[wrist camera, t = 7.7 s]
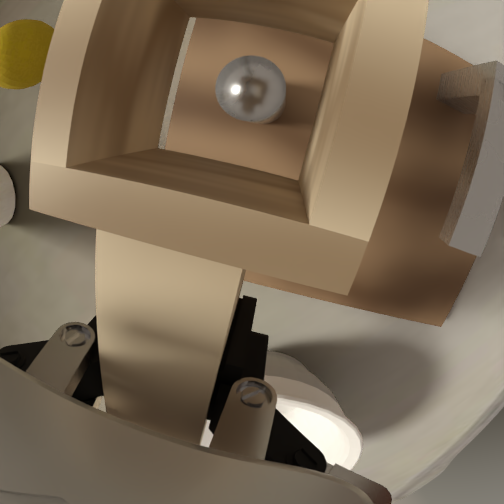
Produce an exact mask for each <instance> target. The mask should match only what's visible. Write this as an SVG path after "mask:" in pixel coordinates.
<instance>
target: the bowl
mask: <svg viewBox="0 0 504 504" xmlns="http://www.w3.org/2000/svg"><path fill="white" fill-rule="evenodd" d="M264 381H266V382H267V383H268V384H270V385H271V386H272V387H273V388H274V390H275V391H276V394H277V404H276V409H277V410H278V411H279V412H280V413H281V414H282V415H283V416H284V417H285V418H286V419H287V420H288V421H289V422H290V423H291V424H292V425H294V426H295V427H296V428H297V429H298V430H299V431H300V432H301V433H302V434H303V435H304V436H305V437H306V438H307V439H308V440H309V441H310V442H312V443H313V444H314V445H315V446H316V447H317V448H318V449H319V450H320V451H321V452H322V453H323V455H324V456H325V459H326V462H328V463H329V464H331V465H334V464H335V463H336V464H338V465H340V466H342V467H344V468H346V469H348V470H351V469H352V468H353V467H354V466H355V465H356V463H357V462H358V461H359V459H360V457H361V454H362V450H363V439H362V435H361V433H360V431H359V430H358V428H357V426H356V425H355V424H354V423H353V422H351V421H350V420H349V419H348V418H347V417H346V416H344V413H343V411H342V409H341V408H340V406H339V404H338V401H337V400H336V398H335V396H334V395H333V393H332V392H331V391H330V390H329V389H328V388H327V387H326V386H325V385H324V384H323V383H322V382H321V381H320V380H319V379H318V378H317V377H316V376H315V375H314V374H312V373H310V372H309V371H308V370H307V368H306V367H305V366H304V365H303V364H302V363H301V362H300V361H298V360H296V359H295V358H293V357H291V356H288V355H286V354H283V353H279V352H274V351H267V357H266V366H265V375H264ZM210 421H211V420H207V423H206V427H205V431H204V434H203V438H202V442H201V446H205V447H209V445H210V443H211V440H212V438H213V434H212V432H211V431H210V430H209V429H208V428H209V424H210Z"/></svg>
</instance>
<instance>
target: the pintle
mask: <svg viewBox="0 0 504 504" xmlns="http://www.w3.org/2000/svg"><path fill="white" fill-rule="evenodd" d="M215 92H216V97H217V100H218V103H219V104H220V106H221V107H222V109H223V110H224V111H225V112H226V113H227V114H229V115H230V116H232V117H234V118H236V119H239V120H242V121H248V122H253V123H258V124H267V123H271V122H273V121H275V120H277V119H278V118H279V117H280V116H281V115H282V113H283V111H284V109H285V102H286V82H285V78H284V76H283V74H282V72H281V70H280V69H279V68H278V67H277V66H276V65H275V64H274V63H273V62H272V61H270V60H268V59H266V58H263V57H260V56H254V55H249V56H242V57H239V58H236V59H234V60H232V61H231V62H229V63H228V64H227V65H226V66H225V67H224V68H223V69H222V70H221V72H220V73H219V75H218V77H217V80H216V85H215Z"/></svg>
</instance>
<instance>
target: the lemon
mask: <svg viewBox="0 0 504 504" xmlns="http://www.w3.org/2000/svg"><path fill="white" fill-rule="evenodd" d="M53 33H54V29H53V28H52V27H51V26H49V25H48V24H46V23H44V22H42V21H38V20H28V19H25V20H17V21H13V22H10V23H8V24H6V25H4V26H3V27H1V28H0V87H2V88H7V89H24V88H27V87H31V86H34V85H36V84H38V83H39V82H41V81H42V76H43V71H44V67H45V63H46V59H47V54H48V51H49V47H50V43H51V40H52V36H53Z"/></svg>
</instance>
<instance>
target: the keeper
mask: <svg viewBox="0 0 504 504" xmlns="http://www.w3.org/2000/svg"><path fill="white" fill-rule="evenodd" d="M436 100H438V101H440V102H442V103H444V104H446V105H448V106H450V107H452V108H454V109H456V110H458V111H460V112H461V113H463V114H476V117H475V121H474V126H473V130H472V134H471V138H470V142H469V146H468V150H467V154H466V157H465V161H464V164H463V168H462V171H461V175H460V178H459V181H458V184H457V187H456V190H455V193H454V196H453V199H452V202H451V205H450V208H449V211H448V214H447V216H446V219H445V222H444V225H443V227H442V230H441V232H440V235H439V238H440V239H442V240H443V241H444V242H445V243H446V244H447V245H449V246H451V247H454V248H457V249H459V250H462V251H465V252H467V253H470V254H473V255H475V256H478V257H480V258H481V255H482V253H483V251H484V248H485V246H486V243H487V241H488V238H489V236H490V233H491V231H492V228H493V225H494V223H495V220H496V217H497V214H498V212H499V209H500V206H501V203H502V200H503V197H504V65H502V64H501V63H500V62H498V61H493V62H488V63H483V64H479V65H474V66H470V67H466V68H462V69H458V70H454V71H450V72H446V73H442V74H441V79H440V84H439V89H438V94H437V98H436Z"/></svg>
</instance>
